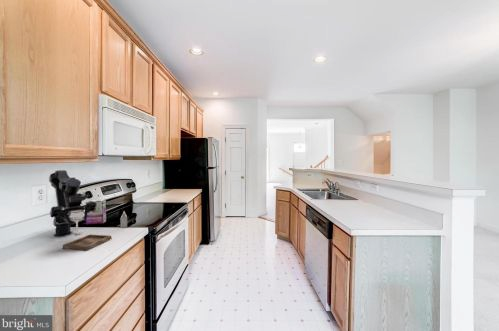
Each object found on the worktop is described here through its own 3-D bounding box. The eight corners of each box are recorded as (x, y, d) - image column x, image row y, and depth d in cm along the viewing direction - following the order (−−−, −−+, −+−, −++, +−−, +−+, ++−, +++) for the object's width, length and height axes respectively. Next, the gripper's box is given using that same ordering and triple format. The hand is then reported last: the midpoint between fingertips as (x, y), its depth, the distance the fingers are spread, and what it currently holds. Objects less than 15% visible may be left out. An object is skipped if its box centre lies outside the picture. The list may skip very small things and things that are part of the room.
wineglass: (81, 235, 110) (80, 212, 110) (65, 236, 109) (65, 213, 108) (87, 231, 117) (87, 209, 116) (73, 232, 115) (72, 210, 115)
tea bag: (120, 228, 144) (120, 213, 144) (121, 225, 150) (120, 211, 150) (126, 227, 146) (126, 212, 146) (127, 224, 152) (127, 210, 152)
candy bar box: (106, 221, 159) (106, 199, 159) (103, 223, 154) (103, 200, 154) (89, 222, 157) (89, 200, 156) (85, 224, 152) (85, 201, 151)
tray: (89, 237, 126) (89, 234, 126) (111, 239, 124) (111, 235, 124) (62, 248, 110) (62, 245, 110) (87, 250, 108) (87, 246, 108)
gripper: (50, 191, 107) (56, 216, 101) (95, 187, 122) (102, 209, 115) (48, 204, 112) (52, 229, 106) (90, 199, 127) (97, 221, 120)
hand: (77, 222), depth 112 cm, fingers closed on wineglass, 6 cm apart
